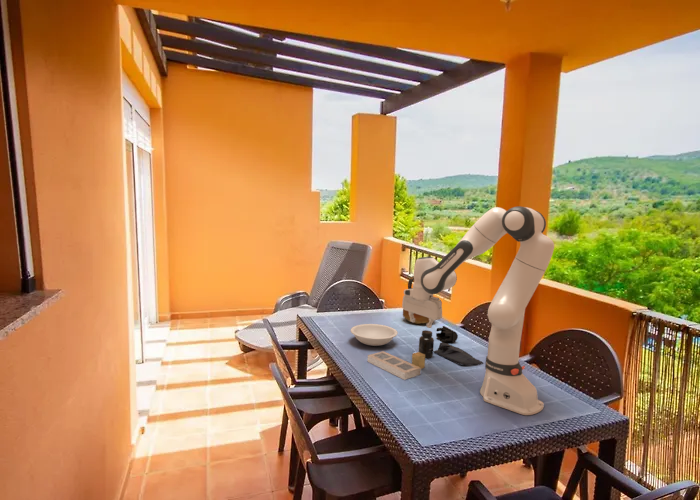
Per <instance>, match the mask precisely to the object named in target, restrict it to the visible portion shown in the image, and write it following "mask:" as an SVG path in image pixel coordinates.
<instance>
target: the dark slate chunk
mask: <svg viewBox="0 0 700 500" xmlns="http://www.w3.org/2000/svg"><path fill="white" fill-rule="evenodd" d="M433 354H437V355H438V356H440V357H442V358H444V359H447V360H449V361H451V362H453V363H455V364H458V365H461V366H467V365H468V366H469V365H471V366H473V365H475V366H476V365H478V364H479V365H482V364H484V362H483V361H481V360H480V359H477V358H475V357H474V356H473V355H471V354H470V353H468V352H467V351H465V350H464V349H462V348H459V347H457V346H454V345H452V344H446V343H442V342H439V346H438V347H437V349H436V350H433ZM479 365H478V366H479Z"/></svg>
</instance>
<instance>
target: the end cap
mask: <svg viewBox="0 0 700 500" xmlns="http://www.w3.org/2000/svg"><path fill="white" fill-rule="evenodd" d="M435 334H436V336H435V337H436V340H438V341H439V342H440V343H446V344H449V345H452V344H454V343H456V341H457V340H458V333H457V332H456V331H454V330H453V329H451V328H449V327H447V326H445V325H442V327H437V328H436V333H435Z"/></svg>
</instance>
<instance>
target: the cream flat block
mask: <svg viewBox="0 0 700 500" xmlns="http://www.w3.org/2000/svg"><path fill="white" fill-rule="evenodd" d="M367 362H368V363H369V364H372V365H373V366H375V367H377V368H379V369H381V370H383V371H385V372H387V373H389V374H392V375H393V376H396V377H398V378H400V379H402V380H404V381H405V380H409V379H411V378H415V377H418V376H420V375H421V371H422V369H421V368H420V367H418V366H416V365H413V364H412V362H411V363H410V362H409V361H406V360H404V359H402V358H400V357H398V356H395V355H393V354H390V353H388V352H386V351H384V350H382V351H379V352H375V353H371V354H367Z"/></svg>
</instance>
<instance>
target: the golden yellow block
mask: <svg viewBox="0 0 700 500" xmlns="http://www.w3.org/2000/svg"><path fill="white" fill-rule="evenodd" d="M411 364H413V365H416V366H418V367H420V368H421V370H422V369H425V368H426V367H425V364H426V359H425V354H422V353H420V352H418V351H417V352H416V351H415V352H413V353H412V355H411Z"/></svg>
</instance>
